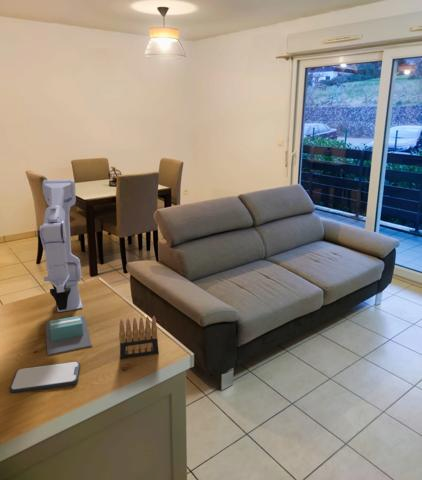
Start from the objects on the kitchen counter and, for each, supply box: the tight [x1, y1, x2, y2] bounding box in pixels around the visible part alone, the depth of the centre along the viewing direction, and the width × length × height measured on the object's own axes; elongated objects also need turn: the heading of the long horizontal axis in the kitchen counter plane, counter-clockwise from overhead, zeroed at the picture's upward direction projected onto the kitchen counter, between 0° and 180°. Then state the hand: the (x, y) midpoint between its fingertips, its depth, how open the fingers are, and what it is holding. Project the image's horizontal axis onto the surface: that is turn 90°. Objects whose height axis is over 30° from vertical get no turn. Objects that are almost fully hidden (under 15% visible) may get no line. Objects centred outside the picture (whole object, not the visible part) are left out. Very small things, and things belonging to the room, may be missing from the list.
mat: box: [45, 315, 92, 356], centre depth 118 cm, size 18×12×1 cm, turn 24°
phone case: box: [9, 361, 81, 394], centre depth 99 cm, size 9×2×16 cm
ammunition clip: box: [118, 315, 160, 360], centre depth 108 cm, size 11×2×12 cm, turn 105°
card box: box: [48, 315, 83, 341], centre depth 118 cm, size 9×5×4 cm, turn 113°
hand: (61, 303), depth 118 cm, fingers open, 7 cm apart
